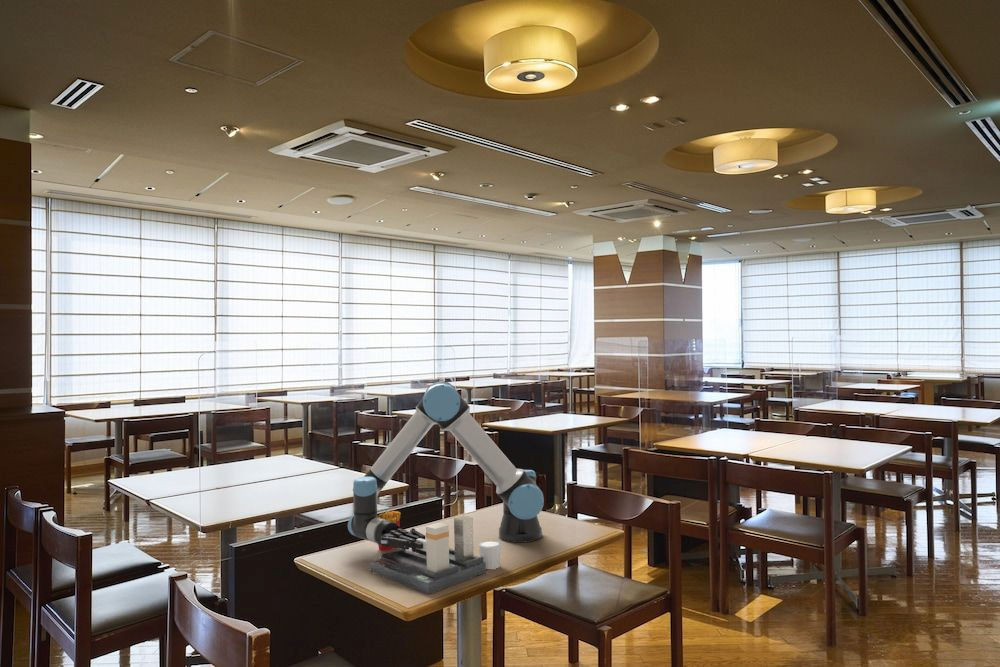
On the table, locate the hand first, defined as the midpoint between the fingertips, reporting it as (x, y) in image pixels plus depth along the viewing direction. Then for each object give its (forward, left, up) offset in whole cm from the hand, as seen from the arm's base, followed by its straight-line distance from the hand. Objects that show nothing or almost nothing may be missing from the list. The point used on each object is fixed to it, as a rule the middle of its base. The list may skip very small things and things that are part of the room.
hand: (432, 547), depth 190 cm
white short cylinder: (-19, +4, -10) cm, 22 cm away
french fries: (-10, -35, -10) cm, 37 cm away
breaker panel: (-4, -7, -9) cm, 12 cm away
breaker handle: (0, +2, -6) cm, 7 cm away
